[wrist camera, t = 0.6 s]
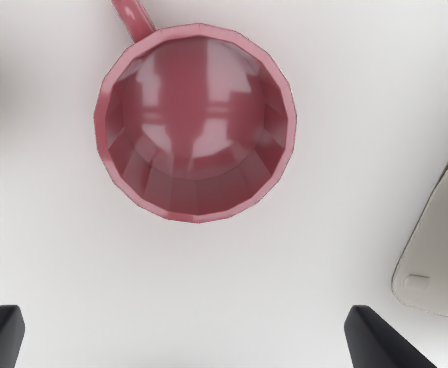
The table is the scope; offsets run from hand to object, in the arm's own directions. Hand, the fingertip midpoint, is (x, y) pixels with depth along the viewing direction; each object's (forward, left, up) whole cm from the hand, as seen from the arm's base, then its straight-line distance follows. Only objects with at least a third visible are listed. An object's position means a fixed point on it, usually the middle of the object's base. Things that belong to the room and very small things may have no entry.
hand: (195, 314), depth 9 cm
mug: (+4, +1, -14) cm, 15 cm away
